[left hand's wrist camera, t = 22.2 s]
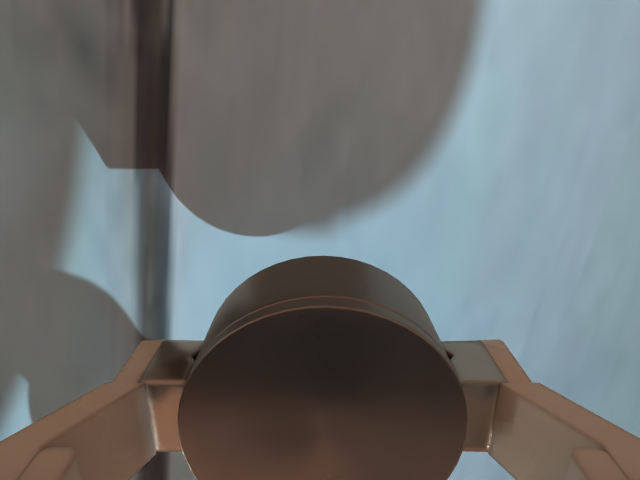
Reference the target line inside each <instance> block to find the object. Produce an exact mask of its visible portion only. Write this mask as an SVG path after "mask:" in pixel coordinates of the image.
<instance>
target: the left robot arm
mask: <svg viewBox="0 0 640 480" xmlns="http://www.w3.org/2000/svg"><path fill="white" fill-rule="evenodd" d="M203 342H204V341H190V340H144V341H141V342H140V343H139V345H138V346H137V348H136V349H135V351H134V352H133V353H132V355H131V356H130V358H129V359H128V361H127V362H126V364H125V365H124V367H123V368H122V369H121V371H120V372H119V374H118V375H117V377H116V378H115V380H114V381H113V383H105V384H103V385H101V386H99V387H97V388H96V389H94V390H92V391H90V392H88V393H87V394H85V395H83V396H81V397H79V398H78V399H76V400H74V401H72V402H70V403H69V404H67V405H65V406H63V407H61V408H60V409H58V410H56V411H54V412H52V413H51V414H49V415H47V416H45V417H44V418H42V419H40V420H38V421H36V422H35V423H33V424H31V425H29V426H27V427H26V428H24V429H22V430H20V431H18V432H17V433H15V434H13V435H11V436H9V437H8V438H6V439H4V440H2V441H0V480H129V479H130V478H131V477H132V476H134V475H135V474H136V473H137V472H138V471H139V470H140V469H141V468H142V467H143V466H144V465H145V464H146V463H147V462H148V461H149V460H150V459H151V458H152V457H154V456H155V455H156V452H168V451H182V449H181V445H180V440H179V435H178V419H177V416H178V409H179V401H180V398H181V395H182V391H183V388H184V385H185V383H186V381H187V378H188V376H189V374H190V372H191V369H192V367H193V365H194V363H195V360H196V358H197V356H198V353H199V351H200V349H201V347H202V344H203ZM441 343H442V345H443V347H444V349H445V351H446V353H447V355H448V357H449V360H450V362H451V364H452V366H453V368H454V370H455V372H456V374H457V376H458V379H459V381H460V383H461V386H462V388H463V391H464V395H465V399H466V403H467V413H468V425H467V436H466V440H465V444H464V448H463V451H476V452H488V454H489V455H490V456H491V457H492V458H493V459H494V460H495V461H496V462H498V463H499V464H500V465H501V466H502V467H503V468H504V469H505V470H506V471H507V472H508V473H509V474H510V475H511V476H512V477H513V478H515V479H516V480H640V438H638V437H636V436H634V435H632V434H631V433H629V432H627V431H625V430H623V429H622V428H620V427H618V426H616V425H614V424H613V423H611V422H609V421H607V420H605V419H603V418H602V417H600V416H598V415H596V414H594V413H593V412H591V411H589V410H587V409H585V408H584V407H582V406H580V405H578V404H576V403H575V402H573V401H571V400H569V399H567V398H565V397H564V396H562V395H560V394H558V393H556V392H555V391H553V390H551V389H549V388H547V387H546V386H544V385H542V384H540V383H532V382H531V380H530V379H529V377H528V376H527V374H526V373H525V372H524V370H523V369H522V367H521V366H520V365H519V363H518V362H517V360H516V359H515V358H514V356H513V355H512V353H511V352H510V351H509V349H508V348H507V346H506V345H505V344H504V342H503V341H501V340H478V341H441Z"/></svg>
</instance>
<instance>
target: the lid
mask: <svg viewBox="0 0 640 480" xmlns="http://www.w3.org/2000/svg"><path fill="white" fill-rule="evenodd" d="M177 419H178V435H179V440H180V445H181V449H182V452H183V454H184V457H185V460H186V462H187V464H188V466H189V468H190V469H191V471H192V473H193V475H194V476H195V478H196V479H197V480H447V479H448V478H449V476H450V475H451V473H452V471H453V470H454V468H455V467H456V465H457V463H458V461H459V458H460V456H461V453H462V451H463V448H464V444H465V440H466V436H467V425H468V413H467V403H466V399H465V395H464V391H463V388H462V386H461V383H460V381H459V379H458V376H457V374H456V372H455V370H454V368H453V366H452V364H451V362H450V360H449V357H448V355H447V353H446V351H445V349H444V347H443V345H442V343H441V341H440V339H439V337H438V335H437V333H436V331H435V328H434V326H433V324H432V322H431V320H430V318H429V316H428V314H427V312H426V311H425V309H424V307H423V306H422V304H421V303H420V301H419V300H418V299H417V298H416V297H415V295H414V294H413V293H412V292H411V291H410V290H409V289H408V288H407V287H406V286H405V285H403V284H402V283H401V282H400V281H399V280H397V279H396V278H394V277H393V276H391V275H390V274H388V273H387V272H385V271H383V270H381V269H379V268H376V267H374V266H372V265H370V264H367V263H364V262H361V261H357V260H353V259H348V258H343V257H334V256H309V257H302V258H296V259H291V260H287V261H284V262H281V263H277V264H275V265H272V266H270V267H268V268H266V269H263V270H261V271H259V272H258V273H256V274H255V275H253V276H251V277H250V278H248V279H247V280H245V281H244V282H243V283H242V284H241V285H239V286H238V287H237V288H236V289H235V290H234V291H233V292H232V293H231V294H230V295H229V296H228V297H227V298H226V300H225V301H224V303H223V304H222V305H221V307H220V308H219V310H218V311H217V313H216V316H215V318H214V320H213V322H212V324H211V326H210V328H209V331H208V333H207V335H206V337H205V340H204V342H203V344H202V347H201V349H200V351H199V353H198V356H197V358H196V360H195V363H194V365H193V367H192V369H191V372H190V374H189V376H188V378H187V381H186V383H185V385H184V388H183V391H182V395H181V398H180V401H179V409H178V416H177Z"/></svg>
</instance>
